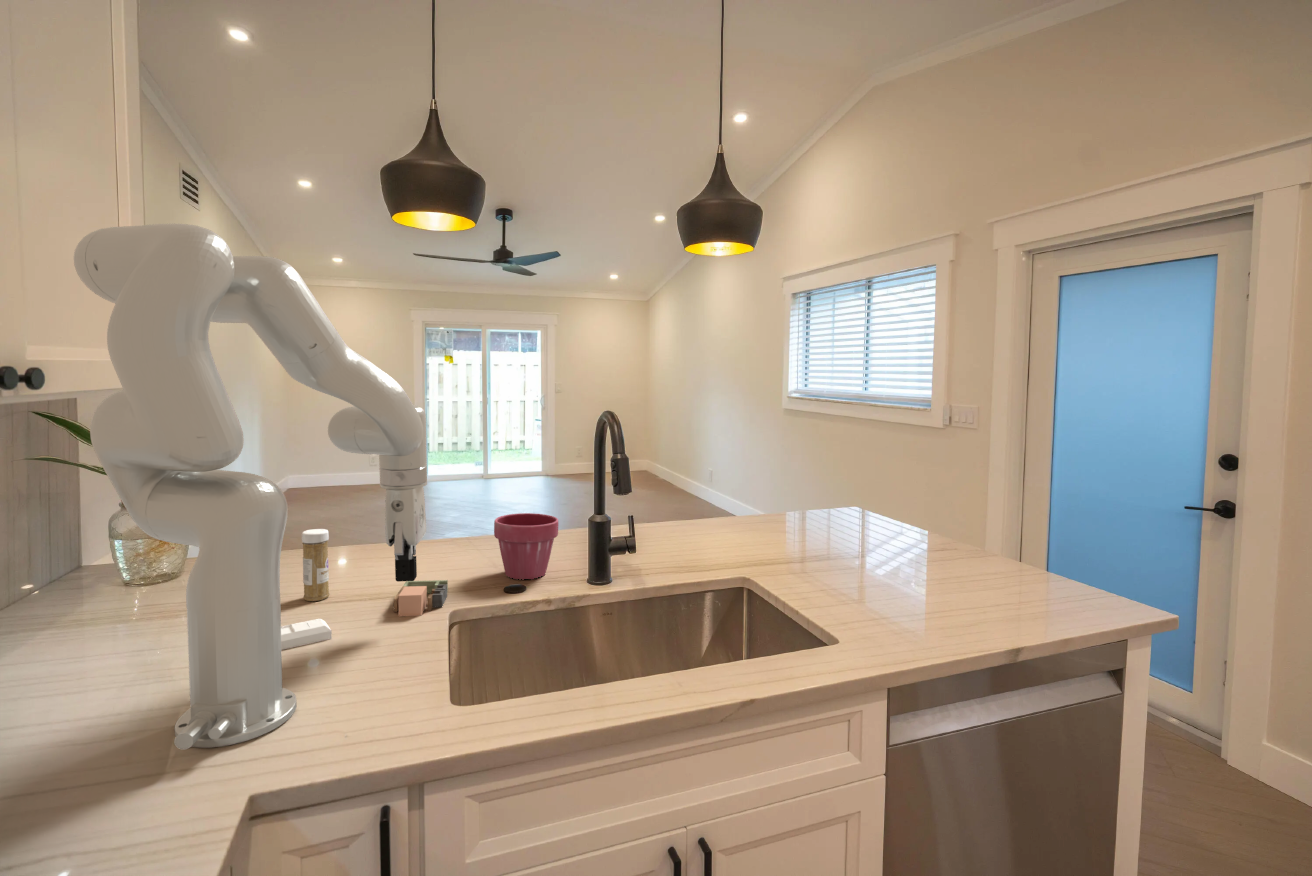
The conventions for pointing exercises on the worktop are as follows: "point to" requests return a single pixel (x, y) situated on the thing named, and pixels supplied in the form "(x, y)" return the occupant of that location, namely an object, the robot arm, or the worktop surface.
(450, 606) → the worktop surface
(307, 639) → the white flat block
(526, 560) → the plant pot
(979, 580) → the worktop surface
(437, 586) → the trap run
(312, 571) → the sprinkles bottle
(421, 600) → the block
